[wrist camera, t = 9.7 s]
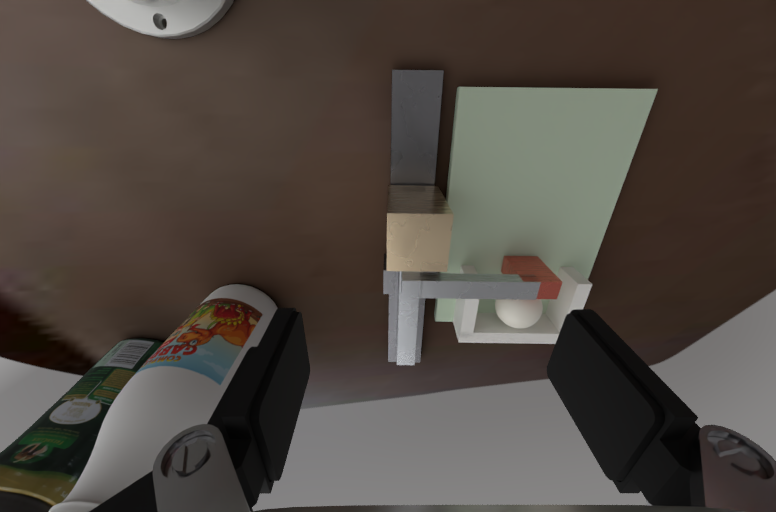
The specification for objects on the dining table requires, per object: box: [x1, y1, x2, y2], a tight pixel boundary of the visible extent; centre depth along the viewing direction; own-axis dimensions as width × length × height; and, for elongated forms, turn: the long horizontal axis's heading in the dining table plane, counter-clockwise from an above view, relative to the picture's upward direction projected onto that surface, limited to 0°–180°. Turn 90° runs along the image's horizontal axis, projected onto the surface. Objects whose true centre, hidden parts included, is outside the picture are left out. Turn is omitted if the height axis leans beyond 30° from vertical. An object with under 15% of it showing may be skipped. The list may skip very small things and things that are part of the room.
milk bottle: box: [49, 284, 278, 512], centre depth 23 cm, size 8×8×20 cm
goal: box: [453, 265, 592, 344], centre depth 28 cm, size 7×10×3 cm, turn 89°
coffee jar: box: [0, 338, 163, 512], centre depth 27 cm, size 10×8×19 cm
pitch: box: [434, 87, 658, 322], centre depth 26 cm, size 21×14×1 cm, turn 179°
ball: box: [495, 299, 543, 328], centre depth 27 cm, size 4×4×4 cm
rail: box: [384, 70, 444, 362], centre depth 26 cm, size 28×5×3 cm, turn 179°
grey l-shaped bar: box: [387, 185, 562, 365], centre depth 25 cm, size 18×14×7 cm
